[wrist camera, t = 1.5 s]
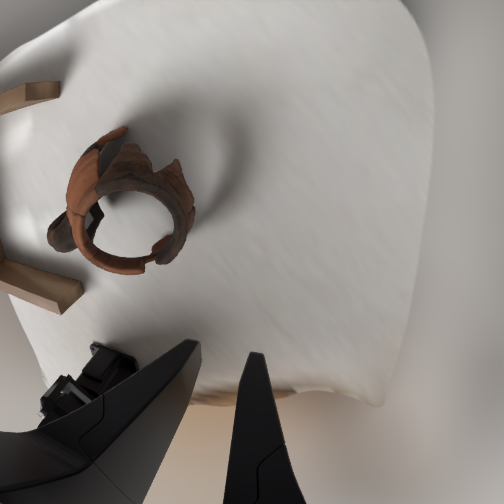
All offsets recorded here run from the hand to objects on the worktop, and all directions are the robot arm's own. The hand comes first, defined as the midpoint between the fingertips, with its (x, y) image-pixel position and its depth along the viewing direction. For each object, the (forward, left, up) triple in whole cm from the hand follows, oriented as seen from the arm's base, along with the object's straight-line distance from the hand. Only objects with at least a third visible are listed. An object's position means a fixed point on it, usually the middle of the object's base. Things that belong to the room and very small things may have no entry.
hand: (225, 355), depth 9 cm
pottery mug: (+1, +11, -13) cm, 17 cm away
